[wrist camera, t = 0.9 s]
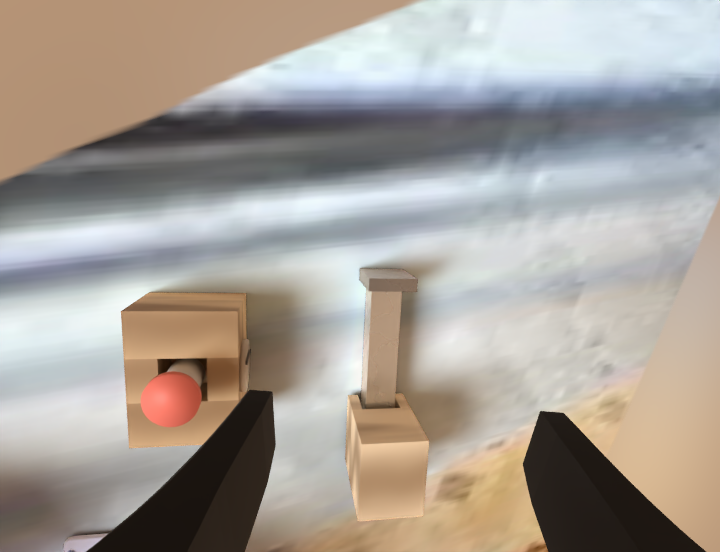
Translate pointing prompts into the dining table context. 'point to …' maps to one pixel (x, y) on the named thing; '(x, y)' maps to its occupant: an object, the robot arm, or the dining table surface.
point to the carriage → (386, 460)
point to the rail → (382, 333)
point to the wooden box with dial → (185, 340)
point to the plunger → (174, 393)
